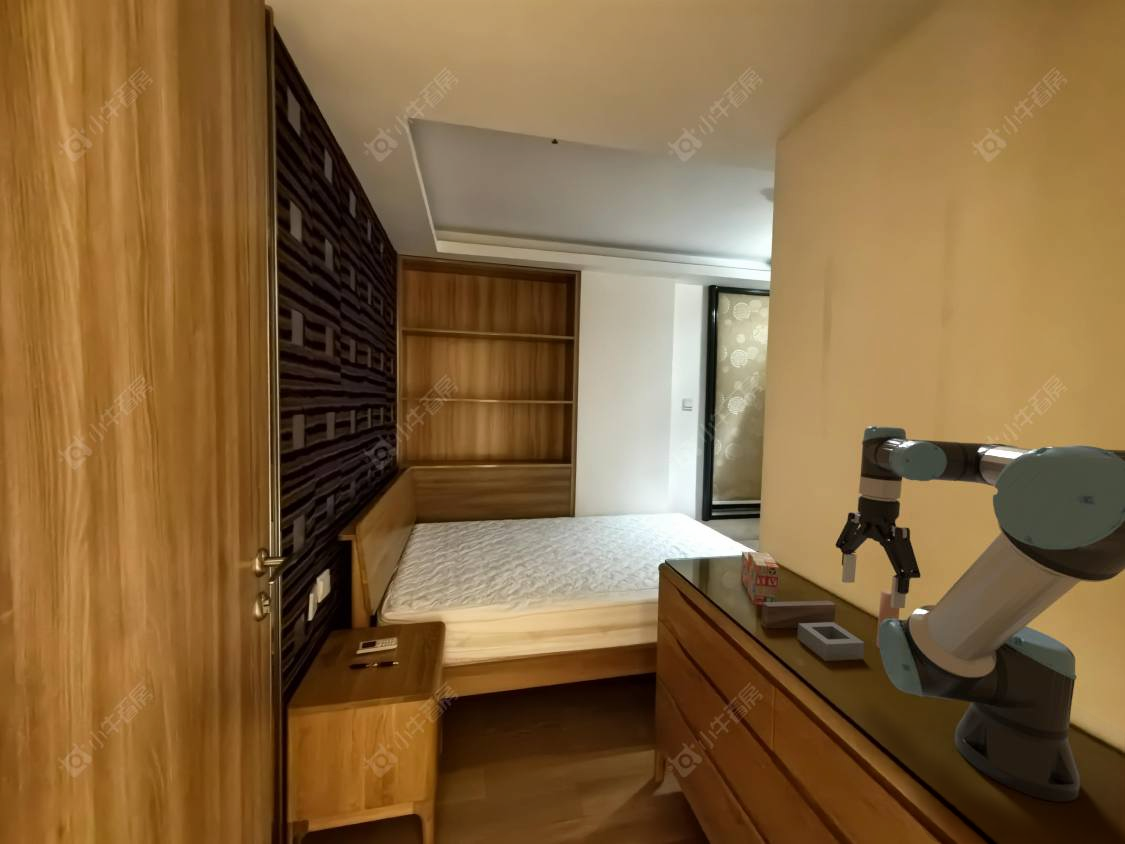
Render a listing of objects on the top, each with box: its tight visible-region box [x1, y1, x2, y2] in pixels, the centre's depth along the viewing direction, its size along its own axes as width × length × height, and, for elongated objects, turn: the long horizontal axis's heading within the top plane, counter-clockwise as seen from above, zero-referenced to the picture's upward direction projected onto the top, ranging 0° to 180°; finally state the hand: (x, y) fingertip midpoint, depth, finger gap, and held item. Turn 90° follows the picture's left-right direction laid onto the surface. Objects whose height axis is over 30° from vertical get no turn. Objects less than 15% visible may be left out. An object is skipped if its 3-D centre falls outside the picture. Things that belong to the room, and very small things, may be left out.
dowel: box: [875, 589, 901, 650], centre depth 116 cm, size 4×4×14 cm
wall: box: [760, 600, 837, 629], centre depth 126 cm, size 2×20×6 cm, turn 99°
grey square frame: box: [796, 621, 865, 662], centre depth 115 cm, size 10×10×4 cm
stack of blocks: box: [740, 551, 780, 606], centre depth 148 cm, size 21×6×12 cm, turn 169°
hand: (871, 594), depth 103 cm, fingers open, 12 cm apart
